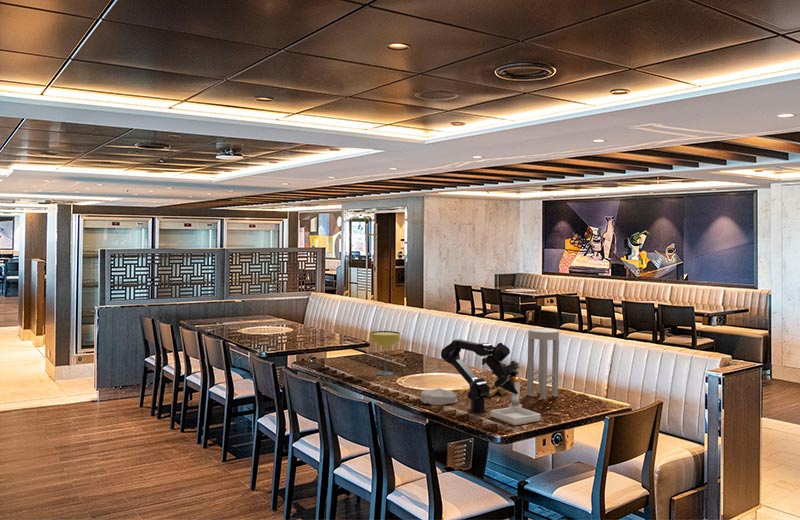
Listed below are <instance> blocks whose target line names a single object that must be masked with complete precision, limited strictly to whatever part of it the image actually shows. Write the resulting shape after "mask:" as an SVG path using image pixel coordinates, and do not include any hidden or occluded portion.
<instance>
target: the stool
mask: <svg viewBox="0 0 800 520" xmlns="http://www.w3.org/2000/svg"><path fill="white" fill-rule="evenodd" d="M535 340H538V341H539V343H538V345H539V347H538V348H539V349H538V350H539V353H538V370H536V371H535V369H534V368H535V367H534V364H535V363H534V362H535V360H534V359H535ZM549 341H552V358H551V359H552V360H551V362H552V363H551V366H552V367H551V373H548V346H549V345H548V342H549ZM559 347H560V331H559V330H558V329H553V328H530V329H528V333H527V373H526V374H527V375H526V377H527V380H526V395H527V396H528V397H532V396H534V381H536V380H538V389H537V392H538V394H540V395H539V399H540V398H541V399H540V400H543V399H544V400H547V389H548V387H547V386H548V385H547V384H549V383H551V397H552V396H554V397H553V398H557V397H556V396H558V395H559V363H560V362H559V359H560V358H559V355H560V354H559V351H560V348H559ZM537 374H538V376H534V375H537ZM549 377H551V379H547V378H549ZM558 397H559V396H558Z"/></svg>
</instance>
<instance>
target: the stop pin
mask: <svg viewBox="0 0 800 520" xmlns="http://www.w3.org/2000/svg"><path fill="white" fill-rule="evenodd" d="M512 384H513V386H514V387H515V389H516V390H517V392H518V394H517V395H516V394H514V393H512V392H511V403H508V408H509V407H510V408H514V409H520V408H523V404H521V403H520V399H521V398H520V395H521V394H520V393H521V392H520V391H521V377H519V376H517V377H512Z"/></svg>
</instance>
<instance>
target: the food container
mask: <svg viewBox="0 0 800 520" xmlns="http://www.w3.org/2000/svg"><path fill="white" fill-rule="evenodd" d="M420 392H421V394H420V395H421V397H420V399H419V400H421V401H420V402H422V403H423V404H429V405H432V406H433V405H434V406H443V405H447V404H448V405H450V404H451V405H452V404H455V403H458V395H457V394H456V393H455V392H454V391H450V390H447V389H444V388H441V387H438V388H433V389H425V390H422V391H420Z"/></svg>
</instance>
